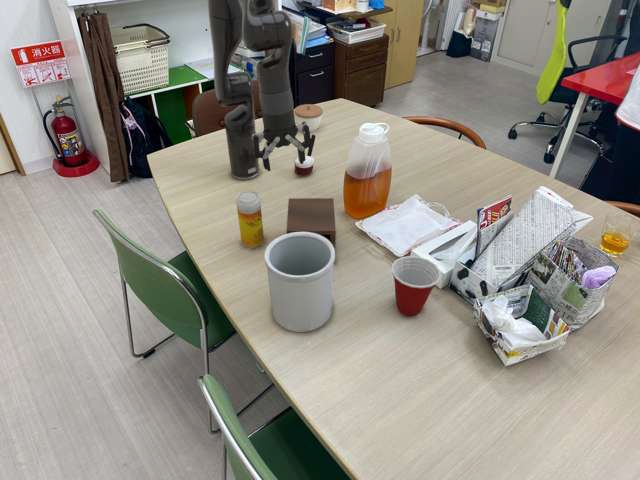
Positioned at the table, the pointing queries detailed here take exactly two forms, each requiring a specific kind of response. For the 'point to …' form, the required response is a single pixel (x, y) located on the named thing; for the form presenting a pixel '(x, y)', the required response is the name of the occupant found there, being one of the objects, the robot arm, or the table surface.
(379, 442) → the table surface
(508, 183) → the table surface
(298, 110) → the trinket box
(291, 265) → the utensil holder
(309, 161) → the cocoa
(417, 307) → the plastic cup
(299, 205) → the brown wood-grain cube
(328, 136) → the table surface
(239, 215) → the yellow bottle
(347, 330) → the table surface
